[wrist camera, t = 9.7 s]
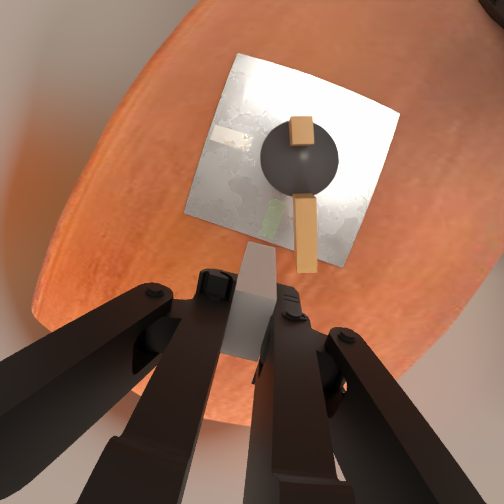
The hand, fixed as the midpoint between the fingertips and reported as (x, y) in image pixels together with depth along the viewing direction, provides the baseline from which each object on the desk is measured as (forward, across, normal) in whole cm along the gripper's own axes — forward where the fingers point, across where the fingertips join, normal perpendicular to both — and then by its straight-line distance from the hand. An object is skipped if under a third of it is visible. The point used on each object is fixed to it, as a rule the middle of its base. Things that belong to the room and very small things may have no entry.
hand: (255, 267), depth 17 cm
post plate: (+24, +2, +7) cm, 25 cm away
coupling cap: (+18, +3, +4) cm, 19 cm away
